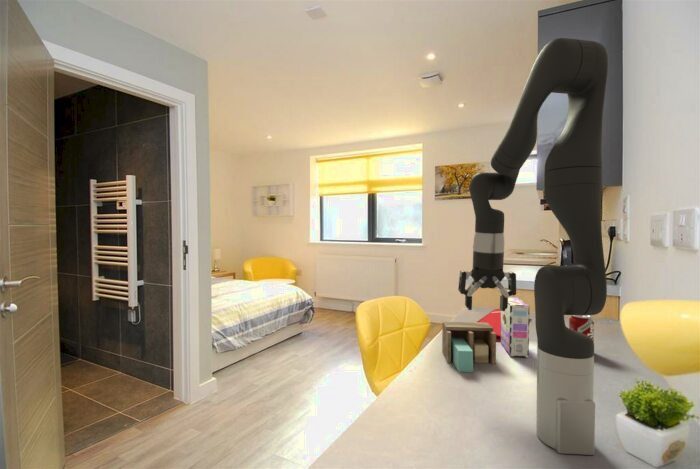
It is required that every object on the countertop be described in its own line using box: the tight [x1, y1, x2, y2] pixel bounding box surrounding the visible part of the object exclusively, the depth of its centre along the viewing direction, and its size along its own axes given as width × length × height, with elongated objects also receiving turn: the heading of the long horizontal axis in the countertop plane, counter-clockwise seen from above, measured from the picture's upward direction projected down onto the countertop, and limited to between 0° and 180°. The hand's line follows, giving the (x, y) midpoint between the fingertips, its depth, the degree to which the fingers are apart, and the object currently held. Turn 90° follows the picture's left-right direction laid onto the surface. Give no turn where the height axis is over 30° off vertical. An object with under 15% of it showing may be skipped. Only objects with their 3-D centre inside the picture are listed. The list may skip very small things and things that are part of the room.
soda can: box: [568, 315, 595, 343], centre depth 115 cm, size 7×7×12 cm
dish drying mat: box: [476, 308, 501, 343], centre depth 145 cm, size 16×41×4 cm, turn 143°
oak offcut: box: [473, 340, 489, 363], centre depth 110 cm, size 6×4×5 cm, turn 175°
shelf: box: [441, 321, 497, 365], centre depth 110 cm, size 9×14×10 cm, turn 85°
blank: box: [451, 338, 474, 373], centre depth 106 cm, size 12×4×6 cm, turn 176°
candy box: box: [500, 296, 530, 359], centre depth 117 cm, size 14×6×16 cm, turn 168°
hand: (485, 309), depth 95 cm, fingers open, 8 cm apart
